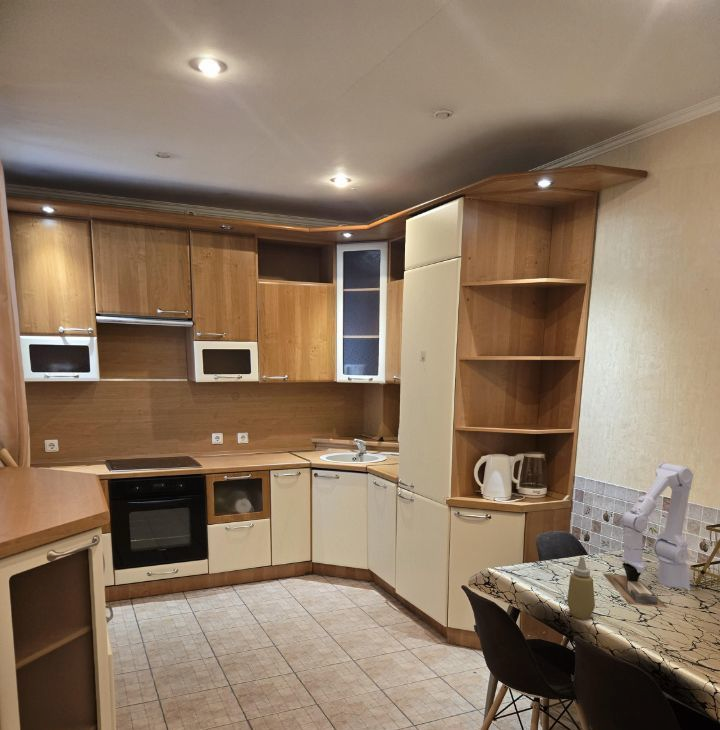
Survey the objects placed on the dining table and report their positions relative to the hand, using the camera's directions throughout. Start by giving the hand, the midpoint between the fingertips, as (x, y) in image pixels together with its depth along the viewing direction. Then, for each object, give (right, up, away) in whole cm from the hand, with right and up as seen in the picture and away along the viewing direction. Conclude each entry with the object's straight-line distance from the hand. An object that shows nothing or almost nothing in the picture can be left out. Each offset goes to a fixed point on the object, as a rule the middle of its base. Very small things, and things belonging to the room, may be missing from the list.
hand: (632, 585), depth 179 cm
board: (0, -2, -1) cm, 2 cm away
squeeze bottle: (-27, -1, -20) cm, 34 cm away
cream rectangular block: (-1, -1, -6) cm, 6 cm away
